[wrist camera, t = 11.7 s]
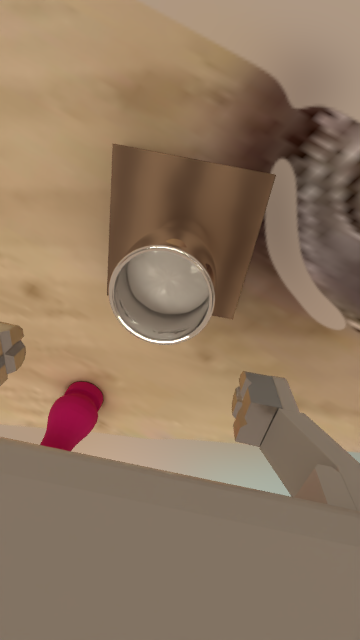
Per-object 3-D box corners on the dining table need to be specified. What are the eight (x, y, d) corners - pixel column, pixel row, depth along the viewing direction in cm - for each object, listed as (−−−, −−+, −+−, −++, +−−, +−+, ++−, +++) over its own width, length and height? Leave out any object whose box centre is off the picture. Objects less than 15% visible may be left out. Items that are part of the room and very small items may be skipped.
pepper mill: (107, 412, 47) (47, 551, 29) (68, 407, 47) (-15, 542, 29) (104, 381, 43) (34, 517, 26) (62, 376, 44) (-36, 506, 26)
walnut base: (269, 175, 28) (276, 174, 25) (230, 309, 35) (232, 319, 33) (121, 147, 28) (112, 143, 25) (114, 286, 35) (106, 295, 33)
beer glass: (153, 208, 28) (104, 232, 14) (218, 218, 27) (230, 251, 14) (148, 272, 31) (104, 338, 18) (207, 281, 31) (207, 355, 18)
